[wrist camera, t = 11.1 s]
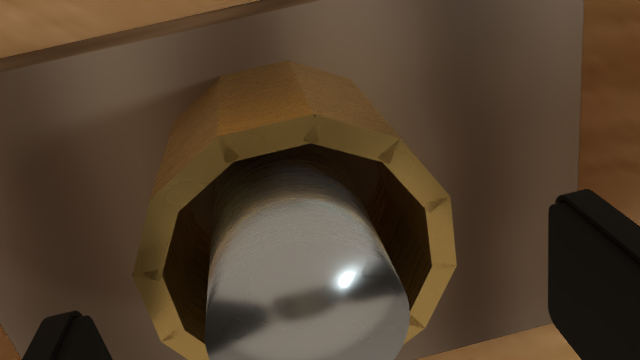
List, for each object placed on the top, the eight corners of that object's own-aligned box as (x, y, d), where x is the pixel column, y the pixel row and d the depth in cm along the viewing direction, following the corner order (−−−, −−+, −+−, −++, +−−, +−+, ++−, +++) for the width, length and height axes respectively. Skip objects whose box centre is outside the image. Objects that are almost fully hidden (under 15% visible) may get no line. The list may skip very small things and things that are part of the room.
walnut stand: (531, -61, 17) (586, -60, 15) (534, 273, 24) (573, 317, 21) (-75, 75, 16) (-136, 103, 14) (95, 387, 22) (77, 449, 20)
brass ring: (377, 39, 15) (439, 83, 10) (406, 245, 18) (464, 346, 14) (129, 96, 15) (84, 168, 10) (204, 296, 18) (194, 418, 13)
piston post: (330, 105, 16) (396, 219, 9) (352, 218, 17) (420, 377, 11) (199, 136, 15) (175, 274, 9) (234, 247, 17) (235, 427, 11)
